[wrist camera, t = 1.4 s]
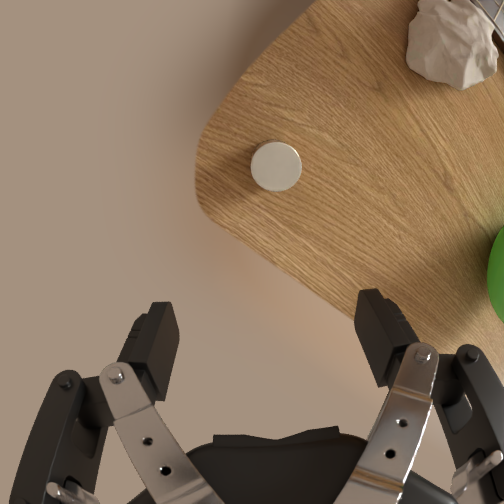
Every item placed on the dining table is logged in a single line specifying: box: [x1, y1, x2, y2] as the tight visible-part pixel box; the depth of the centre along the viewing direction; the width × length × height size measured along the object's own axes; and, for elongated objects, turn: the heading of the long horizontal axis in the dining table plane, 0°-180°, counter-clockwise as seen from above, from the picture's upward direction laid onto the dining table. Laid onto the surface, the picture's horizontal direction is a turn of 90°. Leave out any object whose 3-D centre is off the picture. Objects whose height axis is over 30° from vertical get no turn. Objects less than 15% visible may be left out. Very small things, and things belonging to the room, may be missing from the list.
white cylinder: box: [250, 140, 302, 192], centre depth 23 cm, size 4×4×3 cm
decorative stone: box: [406, 0, 499, 91], centre depth 16 cm, size 11×4×15 cm
